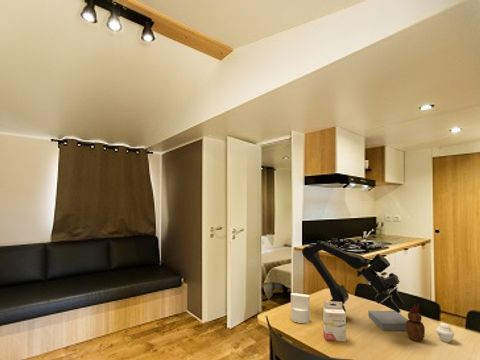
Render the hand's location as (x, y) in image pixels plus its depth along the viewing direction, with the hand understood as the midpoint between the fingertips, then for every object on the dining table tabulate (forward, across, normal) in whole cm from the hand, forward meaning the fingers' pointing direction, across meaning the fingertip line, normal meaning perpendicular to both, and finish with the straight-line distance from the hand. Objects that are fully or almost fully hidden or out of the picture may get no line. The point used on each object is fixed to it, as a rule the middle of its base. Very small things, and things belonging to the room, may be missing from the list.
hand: (401, 308), depth 121 cm
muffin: (+19, +7, -2) cm, 20 cm away
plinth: (+3, +10, +13) cm, 17 cm away
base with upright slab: (-22, -14, +38) cm, 46 cm away
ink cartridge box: (-8, -21, +24) cm, 33 cm away
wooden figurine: (+12, 0, +5) cm, 13 cm away
